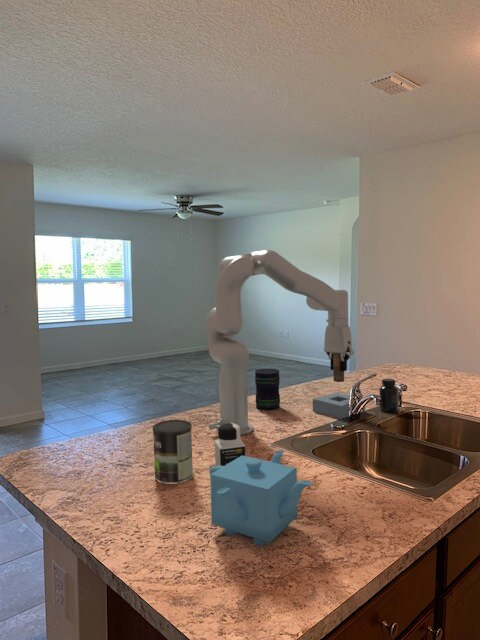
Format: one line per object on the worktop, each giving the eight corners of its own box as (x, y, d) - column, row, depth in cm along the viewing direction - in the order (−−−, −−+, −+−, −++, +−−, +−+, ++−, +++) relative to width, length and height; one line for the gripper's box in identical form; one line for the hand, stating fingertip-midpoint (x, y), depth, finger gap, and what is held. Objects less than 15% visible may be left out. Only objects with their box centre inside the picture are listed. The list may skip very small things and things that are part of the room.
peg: (339, 382, 177) (339, 351, 176) (331, 380, 180) (331, 349, 179) (346, 380, 180) (346, 349, 178) (338, 379, 183) (337, 348, 182)
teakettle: (206, 513, 106) (204, 450, 105) (286, 502, 110) (284, 441, 109) (220, 562, 88) (217, 486, 86) (315, 547, 92) (314, 474, 90)
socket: (341, 419, 171) (341, 406, 171) (312, 411, 182) (312, 398, 182) (365, 411, 180) (365, 398, 179) (336, 404, 191) (336, 392, 190)
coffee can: (158, 488, 119) (156, 434, 118) (151, 472, 129) (149, 422, 128) (198, 480, 123) (196, 428, 122) (188, 466, 133) (186, 417, 131)
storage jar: (284, 409, 186) (283, 372, 185) (261, 412, 183) (261, 374, 181) (273, 403, 196) (272, 367, 194) (251, 406, 192) (250, 370, 191)
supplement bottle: (395, 407, 184) (396, 377, 183) (400, 413, 177) (400, 381, 176) (377, 407, 185) (377, 377, 183) (381, 413, 178) (381, 381, 177)
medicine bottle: (220, 473, 127) (219, 430, 126) (214, 463, 134) (213, 422, 133) (246, 470, 129) (244, 427, 128) (239, 460, 136) (238, 420, 135)
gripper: (314, 322, 182) (315, 368, 184) (349, 324, 169) (350, 375, 171) (327, 320, 187) (328, 365, 188) (362, 323, 173) (362, 371, 175)
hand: (338, 369), depth 179 cm, fingers closed on peg, 4 cm apart
